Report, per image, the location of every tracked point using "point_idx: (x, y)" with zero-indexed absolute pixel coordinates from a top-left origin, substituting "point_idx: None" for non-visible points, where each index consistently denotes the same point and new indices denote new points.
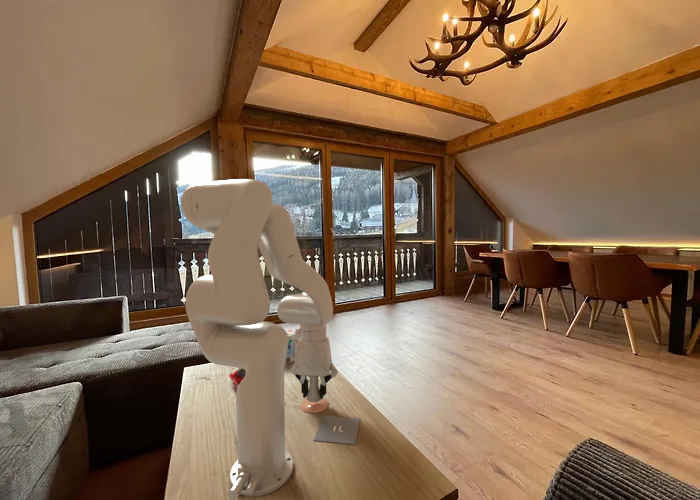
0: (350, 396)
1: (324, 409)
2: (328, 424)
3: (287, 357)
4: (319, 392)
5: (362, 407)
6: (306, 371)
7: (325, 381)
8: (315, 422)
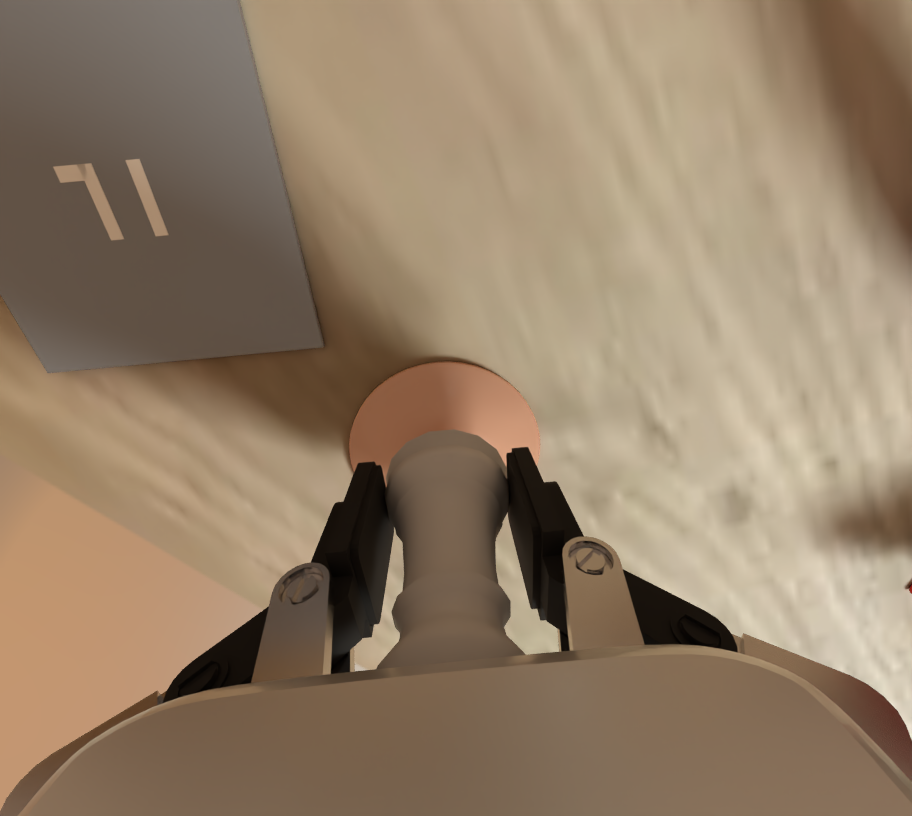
0: (267, 575)
1: (355, 419)
2: (228, 243)
3: None
4: (395, 515)
5: (130, 497)
6: (564, 771)
7: (271, 616)
8: (350, 257)
